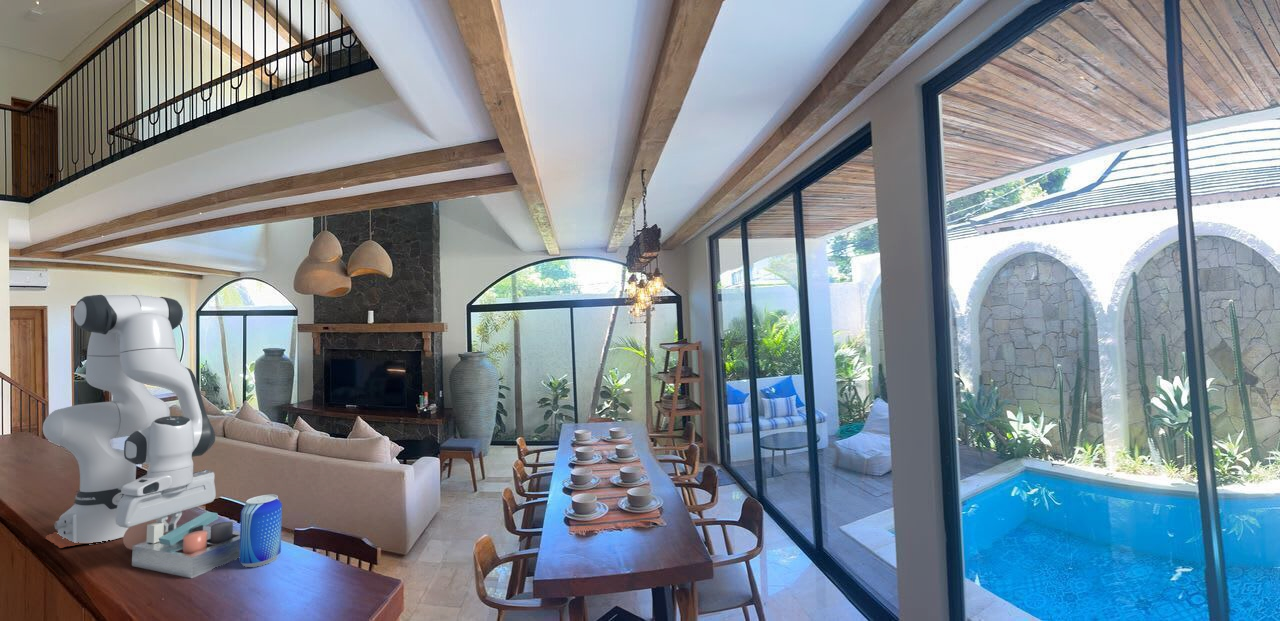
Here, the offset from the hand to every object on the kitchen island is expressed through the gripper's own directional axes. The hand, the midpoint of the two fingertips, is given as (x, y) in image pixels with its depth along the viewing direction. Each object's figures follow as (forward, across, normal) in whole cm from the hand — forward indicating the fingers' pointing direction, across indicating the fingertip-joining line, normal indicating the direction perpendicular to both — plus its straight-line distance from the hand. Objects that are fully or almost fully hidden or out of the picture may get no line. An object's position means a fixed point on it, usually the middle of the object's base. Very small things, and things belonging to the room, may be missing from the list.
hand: (168, 531), depth 127 cm
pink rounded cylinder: (+4, +3, +14) cm, 15 cm away
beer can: (+7, -5, +27) cm, 28 cm away
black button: (+4, -3, +15) cm, 16 cm away
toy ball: (+7, -1, -12) cm, 13 cm away
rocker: (-1, -1, +6) cm, 7 cm away
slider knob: (+1, +3, 0) cm, 3 cm away
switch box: (+7, -1, +8) cm, 11 cm away
